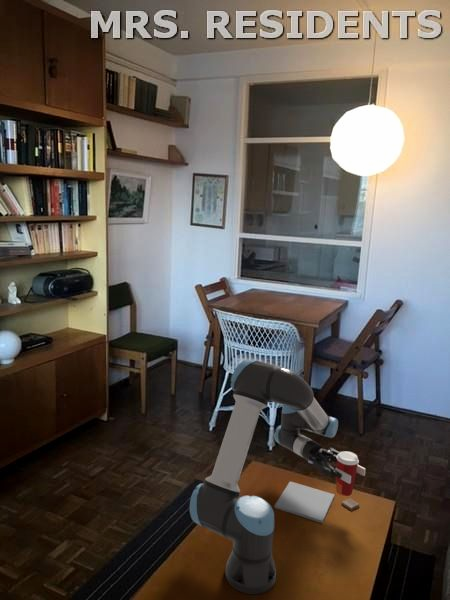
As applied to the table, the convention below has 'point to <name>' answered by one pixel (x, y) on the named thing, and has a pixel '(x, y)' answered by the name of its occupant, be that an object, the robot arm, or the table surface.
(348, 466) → the paper cup
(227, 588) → the table surface
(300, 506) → the slate board
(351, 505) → the block
